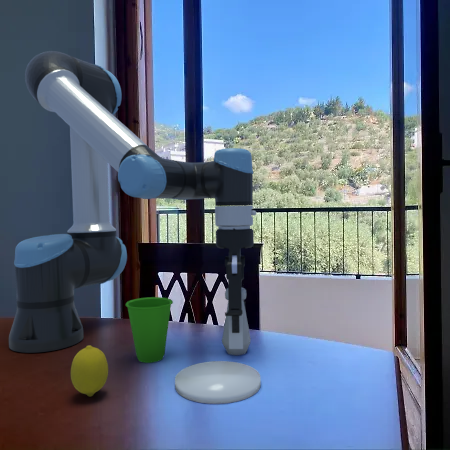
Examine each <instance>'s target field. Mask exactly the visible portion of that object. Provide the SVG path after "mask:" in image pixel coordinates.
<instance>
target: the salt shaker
mask: <svg viewBox="0 0 450 450" xmlns="http://www.w3.org/2000/svg"><path fill="white" fill-rule="evenodd" d="M241 294H242V313H243V349H229V318H228V316H225V318H224V319H225V320H224V325H223V326H224V327H223V332H222V339H221V342H222V345H223V348H224V350H225V351H226V353H227V354H228V355H230V356H231V355H232V356H241V355H245V354H246V353H247V352H248V349H249V347H250V345H251V339H252V338H251V334H250V328H249V324H248V318H247V312H246V305H244V301H245V300H246V299H247V289H246V288H244V287H243V286H242V287H241ZM224 298H225V300H227V301H228V287H227V288H226V289H225V293H224ZM228 310H229V303H228V302H227V307H226V312H228Z"/></svg>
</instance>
